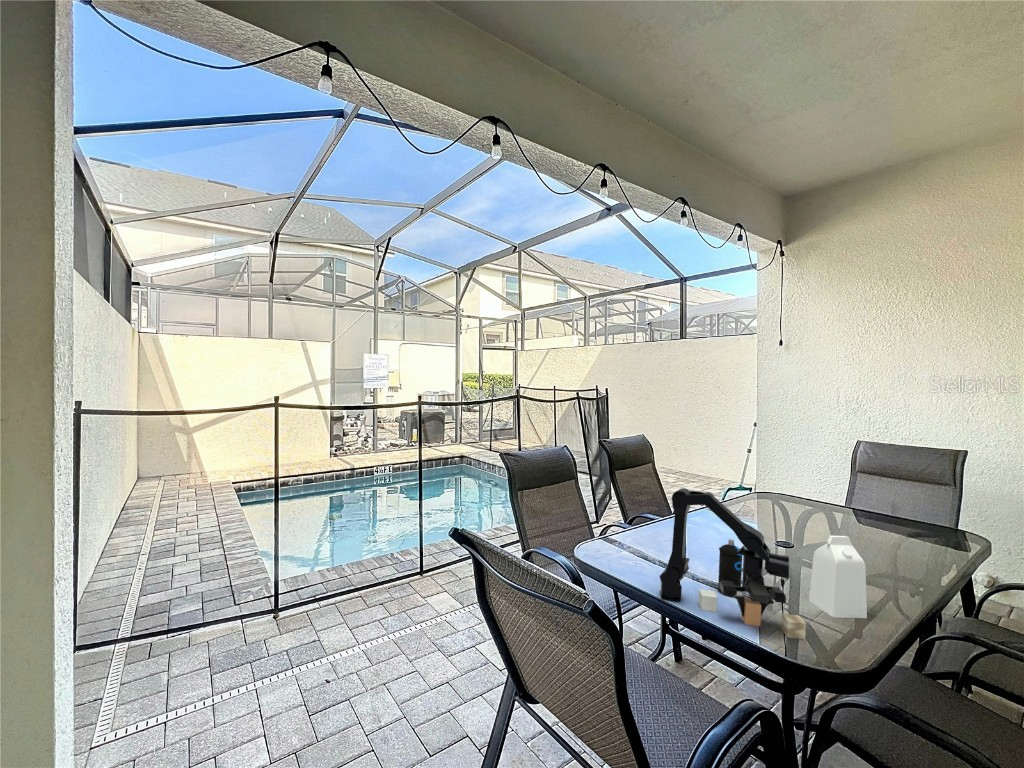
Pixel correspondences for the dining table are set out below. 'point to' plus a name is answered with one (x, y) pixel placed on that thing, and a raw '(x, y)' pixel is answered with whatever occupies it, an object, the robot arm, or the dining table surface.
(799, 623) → the birch cube
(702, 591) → the off-white cube
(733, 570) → the aerosol can
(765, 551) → the robot arm
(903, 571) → the dining table surface
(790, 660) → the dining table surface
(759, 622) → the brown block
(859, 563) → the milk
